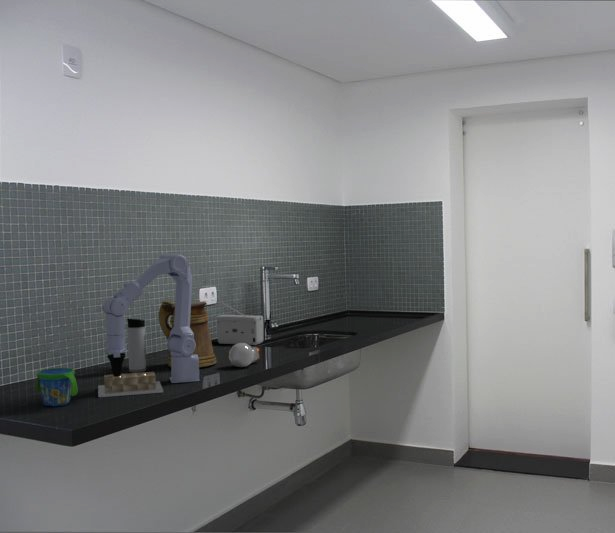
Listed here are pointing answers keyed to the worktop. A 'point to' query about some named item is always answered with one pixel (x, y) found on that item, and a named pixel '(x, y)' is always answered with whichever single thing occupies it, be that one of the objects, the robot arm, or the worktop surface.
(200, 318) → the tankard
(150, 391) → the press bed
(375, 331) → the worktop surface
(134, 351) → the travel mug
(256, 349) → the potion bottle
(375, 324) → the worktop surface
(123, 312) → the robot arm
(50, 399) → the snack cup
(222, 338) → the stereo radio cassette player
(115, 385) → the housing
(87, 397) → the worktop surface
